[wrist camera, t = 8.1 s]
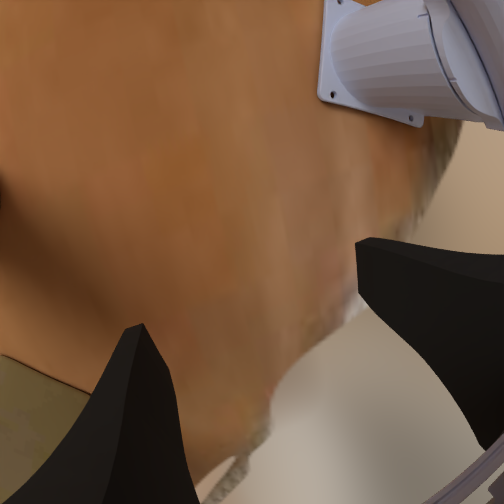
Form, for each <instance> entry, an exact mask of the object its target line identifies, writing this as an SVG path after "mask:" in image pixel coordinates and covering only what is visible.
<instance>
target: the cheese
mask: <svg viewBox="0 0 504 504" xmlns="http://www.w3.org/2000/svg"><path fill="white" fill-rule="evenodd" d="M89 398H90V396H89V395H88V394H86V393H84V392H82V391H79V390H77V389H75V388H72V387H70V386H68V385H65V384H63V383H61V382H58V381H56V380H54V379H52V378H50V377H47V376H45V375H43V374H41V373H39V372H37V371H35V370H33V369H31V368H29V367H27V366H25V365H23V364H21V363H19V362H17V361H15V360H13V359H10V358H8V357H6V356H2V355H0V504H2V503H3V502H4V501H6V500H7V499H8V498H9V497H10V496H11V495H12V494H14V493H15V492H16V491H17V490H18V489H19V488H20V487H21V486H22V485H24V484H25V483H26V482H27V481H28V480H29V479H30V477H31V476H32V475H33V474H34V473H35V472H36V471H37V470H38V469H39V468H40V467H41V466H42V464H43V463H44V462H45V461H46V460H47V459H48V458H49V456H50V455H51V454H52V452H53V451H54V450H55V449H56V447H57V446H58V445H59V443H60V442H61V441H62V439H63V438H64V437H65V436H66V434H67V433H68V432H69V430H70V429H71V427H72V426H73V424H74V423H75V421H76V420H77V418H78V417H79V415H80V413H81V412H82V410H83V409H84V407H85V405H86V404H87V402H88V400H89Z"/></svg>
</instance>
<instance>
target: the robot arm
mask: <svg viewBox="0 0 504 504" xmlns="http://www.w3.org/2000/svg"><path fill="white" fill-rule="evenodd" d="M338 1H339V2H340V4H341V5H340V4H338V2H337V0H324V15H323V29H322V43H321V55H320V67H319V78H318V89H317V95H318V97H319V99H320V100H322V101H325V102H329V103H334V104H338V105H342V106H346V107H350V108H354V109H358V110H361V111H365V112H369V113H372V114H376V115H379V116H383V117H386V118H389V119H393V120H396V121H399V122H402V123H405V124H408V125H411V126H414V127H419V128H420V127H422V126H423V122H424V116H432V117H442V118H450V119H459V120H466V121H473V122H484V123H485V125H486V128H489V129H494V130H499V131H504V0H383V1H380V2H377V3H374V4H372V5H369V6H367V7H366V6H364V5H361V4H359V3H357V2H354V1H352V0H338ZM331 92H333V94H334V98H333V99H332V98H331V96H330V93H331ZM409 116H410V120H409ZM355 250H356V262H357V276H358V293H359V294H360V295H361V297H362V298H363V299H364V300H365V302H366V303H367V304H368V305H369V307H370V308H371V309H372V310H373V311H374V312H375V313H376V314H377V315H378V316H379V317H380V318H381V319H382V320H383V321H384V322H385V323H386V324H387V325H388V326H389V327H391V328H392V329H393V330H394V331H395V332H396V333H397V334H398V335H399V336H400V337H401V338H403V339H404V340H405V341H406V342H407V343H408V344H409V345H410V346H411V347H412V348H413V349H414V350H415V351H416V352H417V353H418V354H419V355H420V356H421V357H422V358H423V359H424V360H425V361H426V363H427V364H428V365H429V366H430V367H431V369H432V370H433V371H434V372H435V374H436V375H437V376H438V377H439V379H440V380H441V382H442V383H443V384H444V386H445V387H446V388H447V390H448V391H449V392H450V394H451V395H452V397H453V398H454V400H455V401H456V403H457V405H458V406H459V407H460V409H461V411H462V412H463V414H464V416H465V418H466V419H467V421H468V423H469V425H470V427H471V429H472V430H473V432H474V434H475V436H476V438H477V441H478V443H479V445H480V446H481V447H482V448H483V449H484V450H485V451H486V452H485V453H484V454H482V456H480V457H479V458H478V459H477V460H476V461H475V462H474V463H473V464H472V465H471V466H469V467H468V468H467V469H466V470H465V471H464V472H463V473H461V474H460V475H459V476H458V477H457V478H455V479H454V480H453V481H452V482H451V483H449V484H448V485H447V486H445V487H444V488H443V489H442V490H440V491H439V492H438V493H436V494H435V495H434V496H432V497H431V498H430V499H428V500H427V501H425V502H424V503H423V504H459V503H461V502H462V501H463V500H464V499H465V498H467V497H468V496H469V495H470V494H471V493H472V492H473V491H475V490H476V489H477V488H478V487H479V486H480V485H481V484H482V483H483V482H484V481H485V480H487V479H488V477H490V476H491V475H492V474H493V473H494V472H495V471H496V470H497V468H499V467H500V465H501V464H502V463H503V462H504V255H491V254H476V253H464V252H456V251H450V250H443V249H437V248H431V247H426V246H421V245H415V244H410V243H405V242H400V241H395V240H389V239H382V238H373V237H369V238H366V239H364V240H361V241H359V242H356V243H355ZM488 491H489V492H490V493H491V494H492V495H493V498H492V499H491V500H490V501H489V502H488V503H486V504H504V472H503V473H502V474H501V475H500V476H499V477H498V478H497V479H496V480H495V481H494V482H493V483H492V484H491V486H489V488H488ZM2 504H200V502H199V500H198V497H197V494H196V491H195V488H194V485H193V482H192V479H191V476H190V473H189V470H188V466H187V462H186V458H185V453H184V447H183V441H182V435H181V428H180V421H179V415H178V408H177V401H176V395H175V391H174V387H173V383H172V379H171V375H170V371H169V368H168V367H167V365H166V363H165V361H164V360H163V358H162V356H161V355H160V353H159V351H158V349H157V348H156V346H155V344H154V342H153V340H152V339H151V337H150V335H149V333H148V331H147V329H146V328H145V326H144V324H143V323H142V324H139V325H136V326H133V327H130V328H127V329H125V331H124V332H123V334H122V336H121V338H120V340H119V342H118V344H117V346H116V348H115V350H114V352H113V354H112V356H111V358H110V360H109V362H108V364H107V366H106V368H105V370H104V372H103V374H102V376H101V378H100V380H99V382H98V383H97V385H96V387H95V389H94V391H93V393H92V394H91V396H90V398H89V400H88V402H87V404H86V405H85V407H84V409H83V410H82V412H81V413H80V415H79V417H78V418H77V420H76V421H75V423H74V424H73V426H72V427H71V429H70V430H69V432H68V433H67V434H66V436H65V437H64V438H63V439H62V441H61V442H60V443H59V445H58V446H57V447H56V449H55V450H54V451H53V452H52V454H51V455H50V456H49V458H48V459H47V460H46V461H45V462H44V463H43V464H42V466H41V467H40V468H39V469H38V470H37V471H36V472H35V473H34V474H33V475H32V476H31V477H30V479H29V480H28V481H27V482H26V483H25V484H24V485H22V486H21V487H20V488H19V489H18V490H17V491H16V492H15V493H14V494H12V495H11V496H10V497H9V498H8V499H7V500H6V501H4V502H3V503H2Z"/></svg>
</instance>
